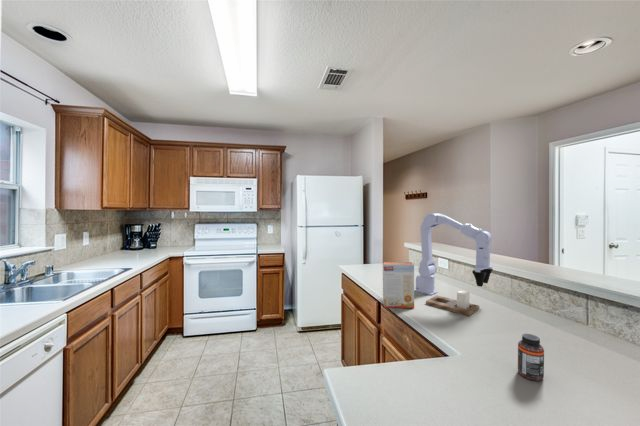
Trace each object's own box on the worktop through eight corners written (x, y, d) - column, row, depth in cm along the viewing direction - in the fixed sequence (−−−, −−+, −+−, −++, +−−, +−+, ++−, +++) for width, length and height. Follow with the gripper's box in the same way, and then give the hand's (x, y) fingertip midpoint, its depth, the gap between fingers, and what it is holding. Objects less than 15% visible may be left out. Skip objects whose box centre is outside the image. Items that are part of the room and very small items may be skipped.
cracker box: (411, 304, 135) (411, 261, 135) (414, 308, 129) (414, 264, 129) (382, 303, 137) (382, 261, 136) (384, 307, 131) (384, 264, 130)
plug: (456, 309, 128) (456, 292, 128) (460, 307, 131) (460, 290, 131) (465, 311, 125) (466, 294, 125) (469, 309, 128) (469, 292, 128)
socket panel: (425, 304, 135) (425, 301, 135) (436, 298, 143) (436, 295, 143) (469, 316, 121) (469, 312, 120) (479, 308, 129) (479, 305, 129)
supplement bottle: (518, 366, 83) (518, 329, 83) (543, 374, 79) (544, 335, 79) (516, 376, 79) (517, 337, 78) (543, 385, 75) (544, 343, 74)
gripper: (487, 259, 124) (486, 289, 125) (497, 255, 134) (496, 283, 135) (470, 257, 130) (470, 286, 130) (480, 253, 140) (480, 280, 140)
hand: (482, 284), depth 133 cm, fingers open, 7 cm apart
